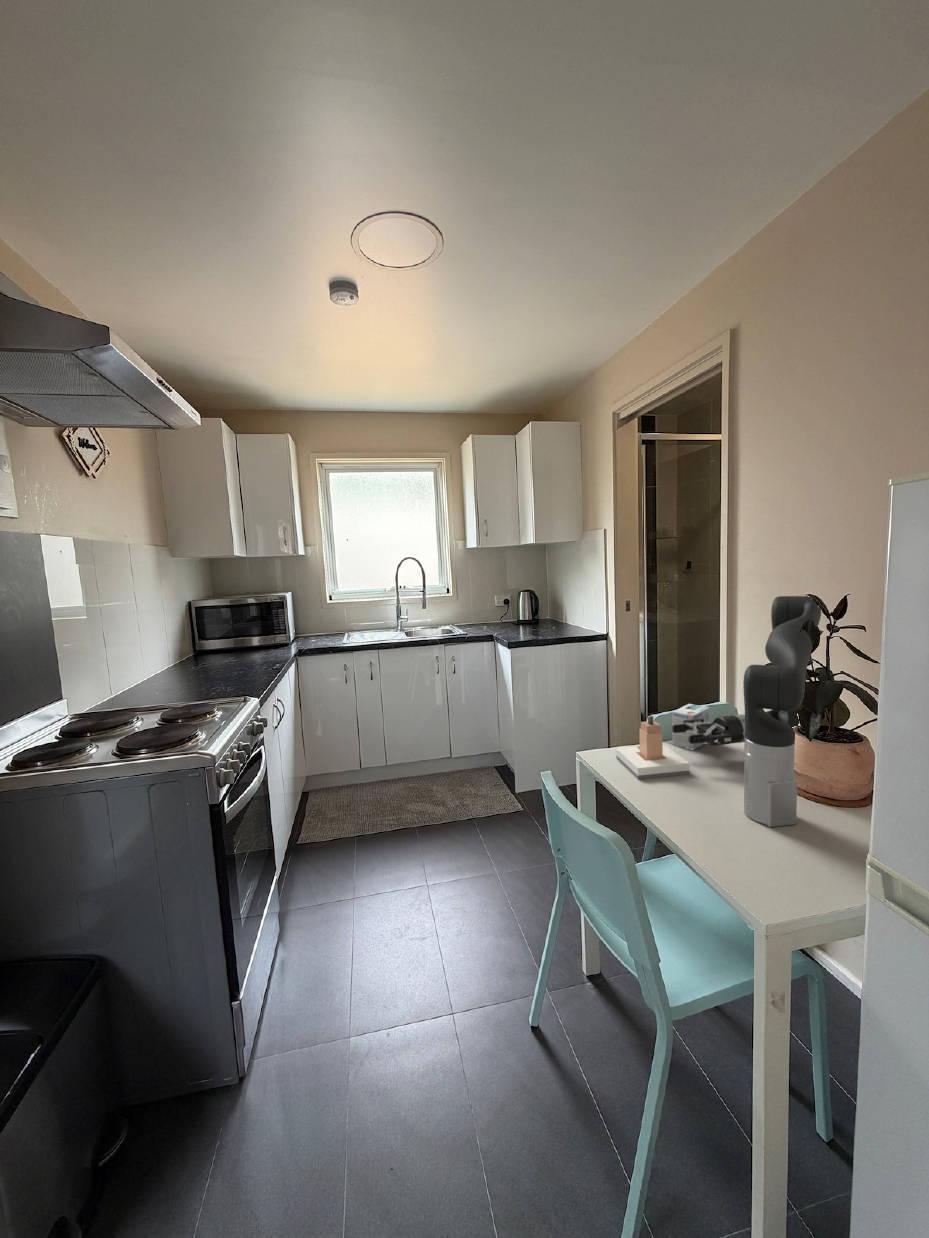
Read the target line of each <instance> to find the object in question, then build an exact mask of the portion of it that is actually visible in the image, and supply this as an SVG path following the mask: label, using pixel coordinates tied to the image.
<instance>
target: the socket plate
mask: <svg viewBox="0 0 929 1238" xmlns="http://www.w3.org/2000/svg"><path fill="white" fill-rule="evenodd" d="M615 753H616V754H615V755H616V756H615V757H616V760H617V761H618V762H619V763H620V764H622V765H623V766H624V767H625V768H626V769H627V771H629V772H630V773H631V775H633V776H634V777H635V778H636V779H637V780H643V779H654V778H655V779H656V778H662V777H664V778H665V777H674V776H683V775H690V762H689V761H687V760H686V759H684V758H683V757H681V756H680V755H679V754H677V752H674V751H673V750H672V749H671V748H669V747H667V746H666V745H665V744H664V743H663V759H658V760H648V761H645V760H644V759H643V758H642V757H641V756H640V745H638V746H631V747H630V746H629V747H628V746H627V747H618V748H617V747H616V749H615Z"/></svg>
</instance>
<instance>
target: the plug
mask: <svg viewBox="0 0 929 1238" xmlns="http://www.w3.org/2000/svg"><path fill="white" fill-rule="evenodd" d="M661 728H662V725H661V724H660V723H658V722H656V721H655V720H654V716H653V715H648V716H647V721H640V728H639V729H638V730H639V736H638V737H639V746H640V756H641V757H642V758H643V759H644V760H645V761H648V760H658V759H663V744H664V743H663V732H662V731H661V730H662V729H661Z"/></svg>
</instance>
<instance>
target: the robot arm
mask: <svg viewBox="0 0 929 1238" xmlns="http://www.w3.org/2000/svg"><path fill="white" fill-rule="evenodd" d="M808 596H809V595H790V596H789V595H786V596H785V595H784V596H783V595H781V596H775V598H774V599H773V601H772V605H771V610H770V611H771V613H770V614H771V615H770V616H771V629H772V630H771V632H770V633H769V636H768V638H767V641H766V643H765V647H764V650H765V651H764V652H765V655H766V657H767V659H768V661H769V662H770V663H771V664H772V665H769V664H768V665H767V664H766V665H765V664H750V665H748V666H747V667H746V669H745V671H744V675H743V703H744V705H743V706H744V714H734V715H722V716H717V717H716V718H715V719H714V720H713V721H712V722H710V721H709V722H705V723H704V719H695V720H684V721H683V724H676V725H673V724H672V726H671V728H672V733H673V732H674V733H681V732H692V733H693V734H695V735H689V743H691V744H694V743H703V742H704V745H705V744H706V745H708V744H709V746H710V747H715V746H723V745H725V746H726V745H731V744H740V743H744V751H743V752H744V757H743V758H744V761H743V762H744V764H743V766H744V770H743V771H744V772H743V773H744V776H743V777H744V778H743V811H744V812H743V813H744V814H745V815H746V816H747V817H748V818H749V819H751V820H753V821H755V822H757V823H760V824H763V825H765V826H767V827H769V828H771V827H772V828H774V827H783V826H791V825H797V818H798V817H797V812H798V811H797V809H798V805H797V804H798V781H797V780H796V779H795V753H796V752H795V751H796V749H795V748H796V747H795V743H796V739H795V732H794V730H793V728H792V727H794V726H798V724H799V719H798V716H797V712H796V710H797V709H798V708H799V707H800V706H801V704H802V702H803V698H804V693H805V682H806V673H807V669H808V664H809V662H810V658H811V655H812V651H811V650H813V647H812V642H811V639H810V637H809V635H808V634H807V632H806V631H805V630H804V631H803V629H801V627H802V626H803V624H804V623H805V622H806V621H808V620H812V621H813V622H814V625H815V626H816V627H817V628H818V627H819V624H820V621H821V616H822V608H821V609H820V608H819V607H818V605H817V604H816V602H815V601H814V599H811V598H810V597H811V596H810V597H808ZM800 630H801V632H800ZM765 710H767V711H765ZM691 729H693V730H691ZM697 729H699V732H698V731H697Z"/></svg>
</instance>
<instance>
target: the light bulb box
mask: <svg viewBox="0 0 929 1238" xmlns="http://www.w3.org/2000/svg"><path fill="white" fill-rule="evenodd" d="M671 716H672V726H673V725H676V724H683V721H684V720H695V719H704V723H705V722H710V707H709V706H704V705H700V704H692V703H687V704H685V705H683V706H681V707H680V708H677V709H674V710H673V711H672V715H671ZM691 730H693V729H691ZM697 731H698V732H699V729H697ZM689 735H695V734H693V733H692V732H681V733H674V732H673V731H672V745H673V744H674V745H676V746H675V747H678V746H681V747H680V748H682V747H684V748H683V749H686V748H688V749H687V750H690V749H694V750H696V749H697V747H698V746H699V747H701V746H702V744H703V745H705V743H704V742H703V743H694V744H691V743H689ZM674 745H673V746H674ZM699 747H698V748H699Z"/></svg>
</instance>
